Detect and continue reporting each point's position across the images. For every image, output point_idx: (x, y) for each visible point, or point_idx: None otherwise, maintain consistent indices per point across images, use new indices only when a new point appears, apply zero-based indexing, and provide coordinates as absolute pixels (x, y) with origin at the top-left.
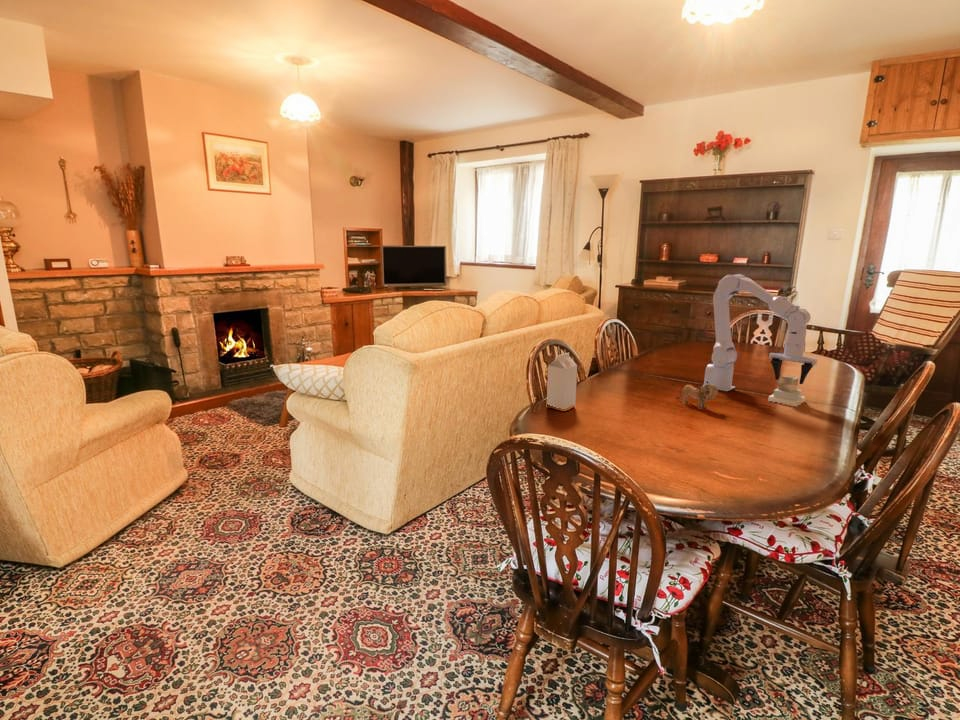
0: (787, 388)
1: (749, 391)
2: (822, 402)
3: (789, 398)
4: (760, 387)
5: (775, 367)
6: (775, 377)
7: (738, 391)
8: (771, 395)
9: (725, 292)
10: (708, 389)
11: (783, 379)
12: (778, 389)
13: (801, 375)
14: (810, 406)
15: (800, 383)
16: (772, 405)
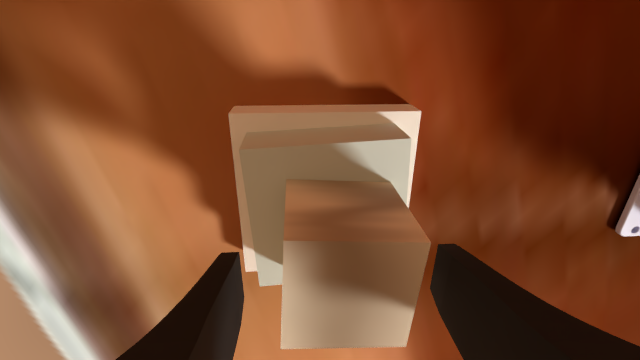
0: (324, 191)
1: (533, 226)
2: None
3: (287, 133)
4: None
5: (567, 331)
6: (467, 252)
7: (592, 179)
8: (410, 152)
9: None
10: None
11: (385, 233)
12: (387, 183)
13: (199, 311)
14: (184, 184)
15: (227, 254)
16: (359, 6)
